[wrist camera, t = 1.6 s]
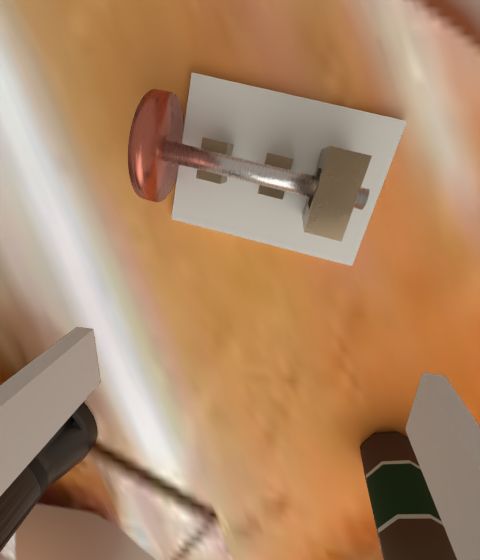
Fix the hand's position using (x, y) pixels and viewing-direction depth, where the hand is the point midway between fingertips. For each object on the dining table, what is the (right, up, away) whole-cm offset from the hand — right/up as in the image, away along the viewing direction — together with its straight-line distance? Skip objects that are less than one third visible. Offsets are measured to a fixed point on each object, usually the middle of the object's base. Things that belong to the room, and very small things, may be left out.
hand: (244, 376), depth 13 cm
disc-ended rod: (+2, +15, +19) cm, 25 cm away
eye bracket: (+3, +14, +19) cm, 24 cm away
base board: (+4, +15, +20) cm, 25 cm away
